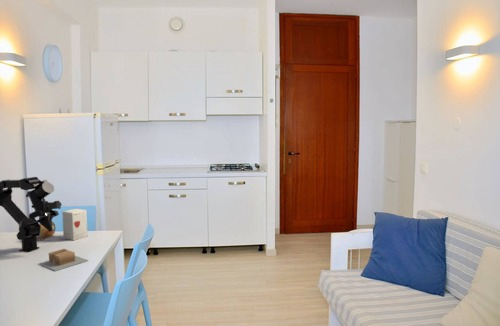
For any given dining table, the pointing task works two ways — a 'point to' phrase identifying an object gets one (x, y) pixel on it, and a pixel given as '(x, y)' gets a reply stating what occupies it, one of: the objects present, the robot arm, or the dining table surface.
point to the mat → (57, 267)
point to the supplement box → (74, 224)
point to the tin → (45, 232)
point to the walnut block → (61, 257)
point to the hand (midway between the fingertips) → (51, 231)
